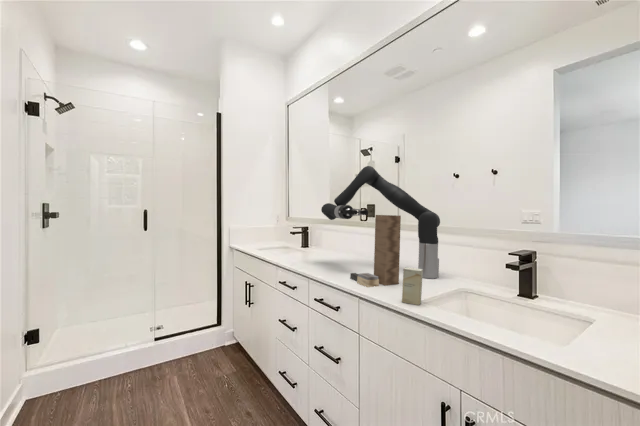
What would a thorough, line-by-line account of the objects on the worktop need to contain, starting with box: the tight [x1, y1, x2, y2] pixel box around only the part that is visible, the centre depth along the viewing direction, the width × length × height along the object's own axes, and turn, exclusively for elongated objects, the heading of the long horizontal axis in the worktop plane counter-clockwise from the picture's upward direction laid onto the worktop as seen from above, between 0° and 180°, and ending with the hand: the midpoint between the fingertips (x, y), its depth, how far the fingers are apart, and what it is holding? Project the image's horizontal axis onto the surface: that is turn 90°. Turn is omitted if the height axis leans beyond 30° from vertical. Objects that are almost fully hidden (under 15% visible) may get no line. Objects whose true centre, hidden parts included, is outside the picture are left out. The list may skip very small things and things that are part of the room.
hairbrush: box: [349, 272, 380, 288], centre depth 133 cm, size 6×16×4 cm, turn 25°
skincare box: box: [401, 266, 423, 306], centre depth 105 cm, size 6×4×12 cm
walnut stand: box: [373, 214, 402, 287], centre depth 133 cm, size 8×8×31 cm
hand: (360, 212), depth 145 cm, fingers open, 8 cm apart
